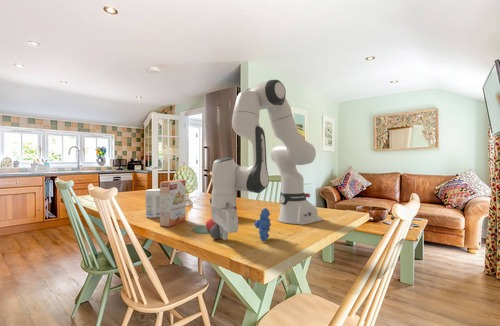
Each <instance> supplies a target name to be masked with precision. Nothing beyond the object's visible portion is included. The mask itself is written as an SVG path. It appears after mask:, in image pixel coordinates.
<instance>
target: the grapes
mask: <svg viewBox="0 0 500 326" xmlns="http://www.w3.org/2000/svg"><path fill="white" fill-rule="evenodd" d="M270 215H271V213H270V211H269V209H268V208H267V207H264V208H263V209H262V210H261V212H260V215H259V219H256V221H254V223H253V225H254V226H255V229H258V230H259V231H258V234H259V238H260V240H261V242H266V241H267V239H268V238H269V237H270V234H269V231H270V230H271V226H272V224H271V219H270Z"/></svg>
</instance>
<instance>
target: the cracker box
mask: <svg viewBox="0 0 500 326" xmlns="http://www.w3.org/2000/svg"><path fill="white" fill-rule="evenodd" d="M186 187H187V181H186V180H185V179H173V180H166V181H160V182H159V189H160V217H159V226H160V227H167V228H170V227H173V226H175V225H177V224H180V223H183V222H185V221H186V205H187V204H186V198H187V197H186V194H187V193H186V192H187V191H186V189H187V188H186Z"/></svg>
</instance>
